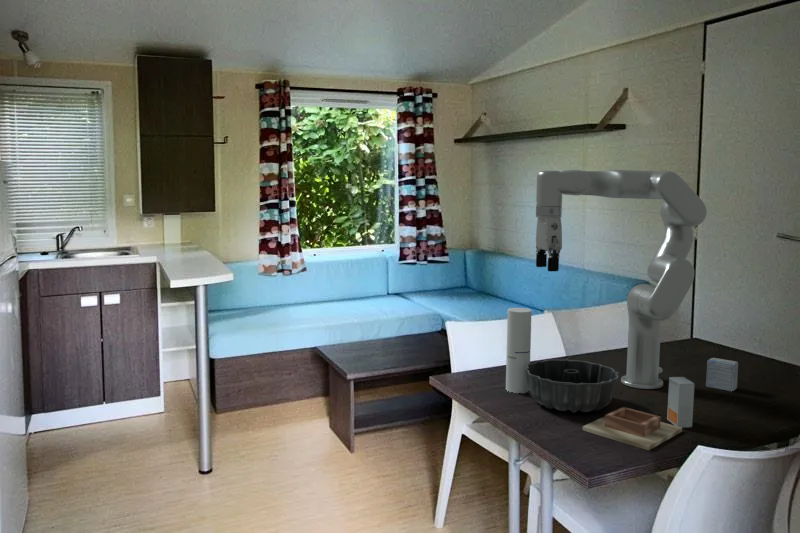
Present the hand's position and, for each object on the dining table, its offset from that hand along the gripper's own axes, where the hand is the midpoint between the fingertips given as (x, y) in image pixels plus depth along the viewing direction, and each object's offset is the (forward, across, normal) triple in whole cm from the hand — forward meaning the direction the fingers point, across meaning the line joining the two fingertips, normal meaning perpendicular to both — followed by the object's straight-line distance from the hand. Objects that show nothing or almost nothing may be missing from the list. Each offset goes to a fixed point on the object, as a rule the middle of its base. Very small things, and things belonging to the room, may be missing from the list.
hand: (547, 269), depth 206 cm
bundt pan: (+38, -14, -3) cm, 40 cm away
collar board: (+37, -37, -10) cm, 54 cm away
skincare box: (+38, -34, -25) cm, 57 cm away
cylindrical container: (+38, 0, +8) cm, 38 cm away
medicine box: (+38, -8, -55) cm, 67 cm away
